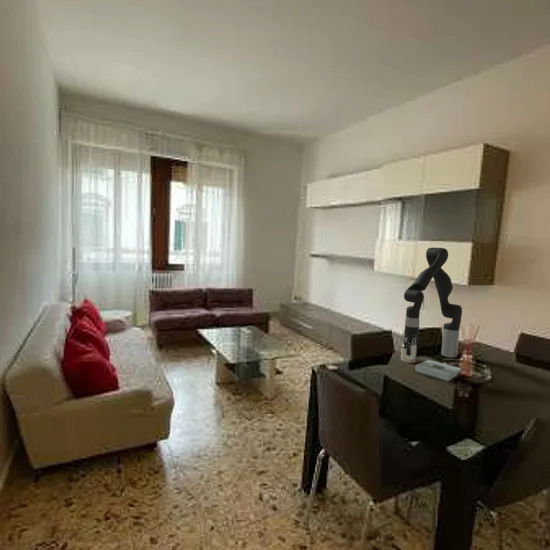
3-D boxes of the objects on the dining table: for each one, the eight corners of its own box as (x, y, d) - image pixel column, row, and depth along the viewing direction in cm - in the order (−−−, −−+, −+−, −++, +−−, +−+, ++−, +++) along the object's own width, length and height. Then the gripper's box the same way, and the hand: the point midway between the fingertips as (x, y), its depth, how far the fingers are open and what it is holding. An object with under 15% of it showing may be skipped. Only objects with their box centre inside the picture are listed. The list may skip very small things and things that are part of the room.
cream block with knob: (408, 356, 215) (409, 342, 214) (415, 358, 212) (416, 343, 211) (405, 358, 212) (405, 343, 211) (411, 359, 209) (412, 344, 208)
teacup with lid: (413, 364, 219) (414, 344, 218) (397, 360, 224) (399, 341, 223) (420, 359, 228) (421, 341, 227) (405, 356, 234) (406, 338, 232)
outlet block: (428, 366, 215) (428, 359, 215) (460, 375, 202) (461, 368, 202) (414, 372, 204) (415, 365, 204) (448, 382, 191) (448, 374, 191)
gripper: (412, 322, 217) (410, 350, 219) (399, 325, 208) (397, 355, 210) (424, 324, 212) (422, 353, 214) (412, 328, 202) (410, 358, 204)
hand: (410, 354), depth 212 cm, fingers closed on cream block with knob, 4 cm apart
